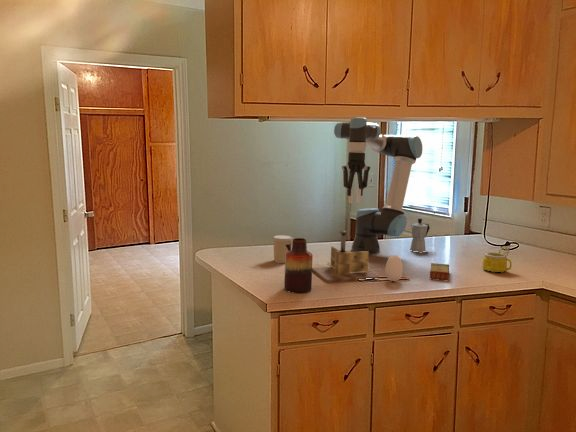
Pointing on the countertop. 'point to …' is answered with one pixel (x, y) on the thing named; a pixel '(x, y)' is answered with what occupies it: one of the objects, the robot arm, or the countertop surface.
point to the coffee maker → (419, 236)
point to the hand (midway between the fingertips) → (354, 202)
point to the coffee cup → (281, 247)
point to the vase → (298, 267)
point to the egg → (394, 268)
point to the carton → (439, 271)
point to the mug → (496, 261)
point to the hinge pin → (343, 240)
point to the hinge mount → (345, 267)
